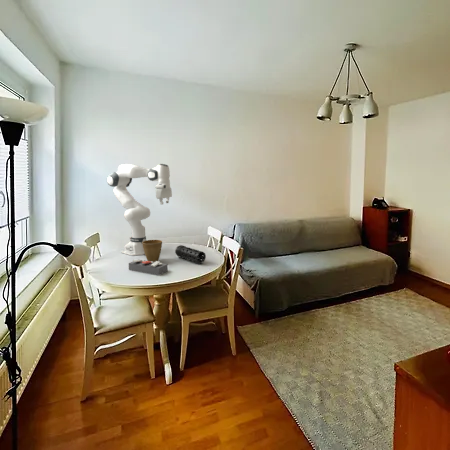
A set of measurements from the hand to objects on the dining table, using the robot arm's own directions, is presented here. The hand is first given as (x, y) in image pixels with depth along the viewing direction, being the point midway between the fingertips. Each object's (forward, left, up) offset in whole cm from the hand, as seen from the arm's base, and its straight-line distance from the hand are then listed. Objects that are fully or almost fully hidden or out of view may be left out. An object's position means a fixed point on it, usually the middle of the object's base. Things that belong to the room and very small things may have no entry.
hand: (164, 203), depth 229 cm
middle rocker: (+5, -29, -38) cm, 49 cm away
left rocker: (-3, -29, -38) cm, 49 cm away
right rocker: (+13, -29, -38) cm, 50 cm away
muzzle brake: (+19, +5, -45) cm, 49 cm away
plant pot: (-5, -10, -45) cm, 46 cm away
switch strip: (+5, -28, -44) cm, 52 cm away
